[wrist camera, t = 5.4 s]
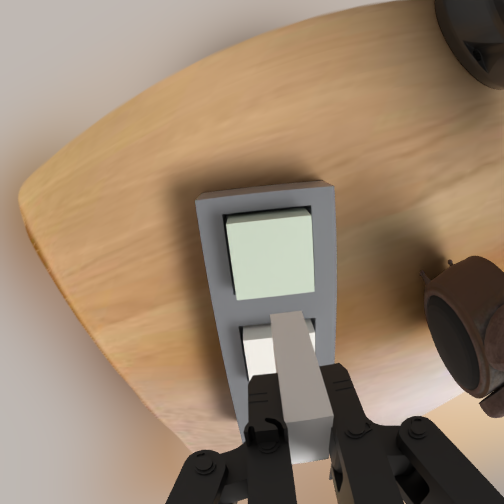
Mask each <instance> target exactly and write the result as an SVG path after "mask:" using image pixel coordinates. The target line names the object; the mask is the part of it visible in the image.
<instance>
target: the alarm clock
mask: <svg viewBox="0 0 504 504" xmlns="http://www.w3.org/2000/svg"><path fill="white" fill-rule="evenodd" d="M448 264H449V265H450V267H449V268H447V269H446V270H444V271H443V272H442V273H441V274H439V275H438V276H437V277H436V278H434V279H433V280H430V279H429V278H428V277H427V276H426V275H425V272H424V271H423V270H422V271H420V273H419V274H420V276H422V278H423V280H424V282H425V284H426V287H425V290H424V309H425V315H426V319H427V323H428V326H429V329H430V332H431V335H432V338H433V341H434V343H435V346H436V348H437V351H438V353H439V355H440V357H441V359H442V361H443V362H444V364H445V366H446V368H447V369H448V371H449V372H450V374H451V375H452V377H453V378H454V380H455V381H456V382H457V384H458V385H459V386H460V387H461V388H462V389H463V390H464V391H466V392H467V393H469V394H470V395H472V396H473V397H475V398H483V397H485V396H487V395H488V394H490V393H491V394H490V395H488V396H487V397H486V398H485V399H483V400H482V401H481V402H480V403H479V404H480V406H481V408H482V409H483V411H484V412H485V413H486V414H487V415H488V416H489V417H492V418H500V417H503V416H504V272H503V271H502V270H501V269H500V268H498V267H497V266H496V265H495V264H494V263H492V262H491V261H489V260H487V259H485V258H483V257H479V256H471V257H468V258H466V259H465V260H463V261H460V262H458V263H456V264H454V265H453V263H452V260H448Z"/></svg>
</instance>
